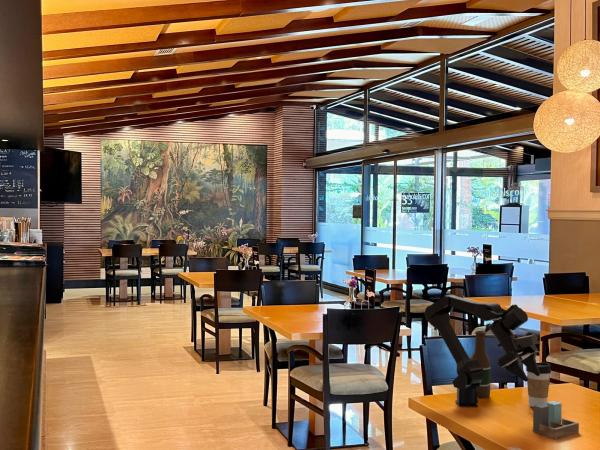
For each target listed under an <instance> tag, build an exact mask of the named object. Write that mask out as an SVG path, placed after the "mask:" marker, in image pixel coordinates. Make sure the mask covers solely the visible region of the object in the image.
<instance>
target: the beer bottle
mask: <svg viewBox="0 0 600 450" xmlns="http://www.w3.org/2000/svg"><path fill="white" fill-rule="evenodd" d="M486 334H487V333H486V332H485V330H476V331H475V341H474V342H475V343H474V350H473V351H474V352H473V353H472V355H471V356H470V357H469V358H470V359H472V360H476V359H477V360H478V362H479V364H480V366H481V367H482V368H483V370H482V371H483V373H484V376H483V380H482V382H481V384H480V387H476V388H477V392H478V399H487V398H489V397H490V396H491V376H492V375H491V372H492V371H491V369H492V368H491V360H490V357H489V355H488V354H487V351H486Z"/></svg>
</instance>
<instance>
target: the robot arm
mask: <svg viewBox="0 0 600 450" xmlns="http://www.w3.org/2000/svg"><path fill="white" fill-rule="evenodd" d="M453 309H456V310H461V311H463V312H466V313H470V314H473V315H474V316H475V317H476V318H478V319H480V320H482V321H483V322H489V321H490V323H486V324H485V329H484V332H485V333H488V332H491V333H492V335H493V336H494V338H495V339H496V341H497V343H498V344H497V347H498V348H502V350H503V352H504V353H505V354H503V355H502V356H500V357H499V358H497V364H498V367H500V368H503V370H506V371H507V372H510V373H511V374H513V375H514V376H516V377H517V378H519V379H520V380H522V381H523V382H525V383H526V382H527V381H528V378H527V374H526V373H525V370H524V369H523V367H522V364H523V365H524V366H525V368H526V367H527V368H528V369H529V370H530V371H532V372H533V373H534V374H535V375H536V376H540V372H539V369H538V366H537V363H538V362H537V360H536V357H537V354H538V350H539V348H537V347H538V346H536V345H538V344H539V343H538V341H537V339H539V337H538V336H537V334H536V333H534V331H530V332H527V333H526V334H525V335H524V336H521V337H520V335H519V334H517V333H515V334H514V332H513V331H516V330H517V329H518V328H520V327H521V326H523V325H524V324H525V323H527V322H528V321H529V317H528V314H527V313H526V311H525V310H523V309H522V308H521V307H519V306H518V305H517V304H512V305H510V306H509V307H508V308H507V309H505V308H503V307H501V304H499V303H497V302H478V301H476V300H475V301H474V300H472V299H468V298H464V297H460V296H457V295H455V294H445V295H443V296H442V297H441V298H440V299H438V300H436V301H434V302H433V303H432V304H430V305H428V306H426V308H425V310H424V317H425V319H426V321H427V322H428V323H429V324H430V326H432V327H433V328H435V329H436V330H437V331H438V333H439V335H440V336H441V338H442V340H443V342H444V344H445V345H446V347H447V349H448V350H449V353H450V355H451V356H452V358H453V361H454V362H455V364H456V374H457V376H456V377H455V378H454V379H453V380H452V385H453V387H454V388H456V400H454V401H455V403H456V404H457V406H458V407H461V408H462V407H464V408H465V407H467V408H470V407H472V408H473V407H474V408H476V407H479V405H478V404H479V398H478V392H477V388H476V387H480V384H481V382H482V380H483V376H484V373H483V371H482V370H483V368H482V367H481V366H480V364H479V362H478V360H477V359H476V360H472V359H470V358H471V357H469V354H468V353H467V351H466V350H465V347H464V346H463V345H462V342H461V341H460V339H459V337H458V335H457V333H456V331H455V330H454V328H453V327H452V325H451V316H450V313H451V312H452V311H453ZM491 321H493V322H492V323H491Z"/></svg>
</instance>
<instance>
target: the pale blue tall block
mask: <svg viewBox="0 0 600 450" xmlns="http://www.w3.org/2000/svg"><path fill="white" fill-rule="evenodd" d="M562 403H563V402H558V401H555V400H551V401H547V405H546V406H549V427H551V422H552V421H553V422H556V423H560V424H562V415H563V414H562V410H563V409H562V406H563V405H562Z"/></svg>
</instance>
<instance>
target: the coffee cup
mask: <svg viewBox="0 0 600 450" xmlns="http://www.w3.org/2000/svg"><path fill="white" fill-rule="evenodd" d="M536 363H537V366H538V369H539V372H540V376H536V375H535V374H534V373H533V372H532V371H530V370H529V369H528V368H527V367H526V366H525V371H526V373H527V374H526V376H527V378H528V381H527V384H526V385H527V395H528V406H529V407H531V408H533V406H534V405H538V404H543V405H547V402H548V397H549V388H550V382H551V373H552V368H551V366H552V365H551V363H548V362H536Z"/></svg>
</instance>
